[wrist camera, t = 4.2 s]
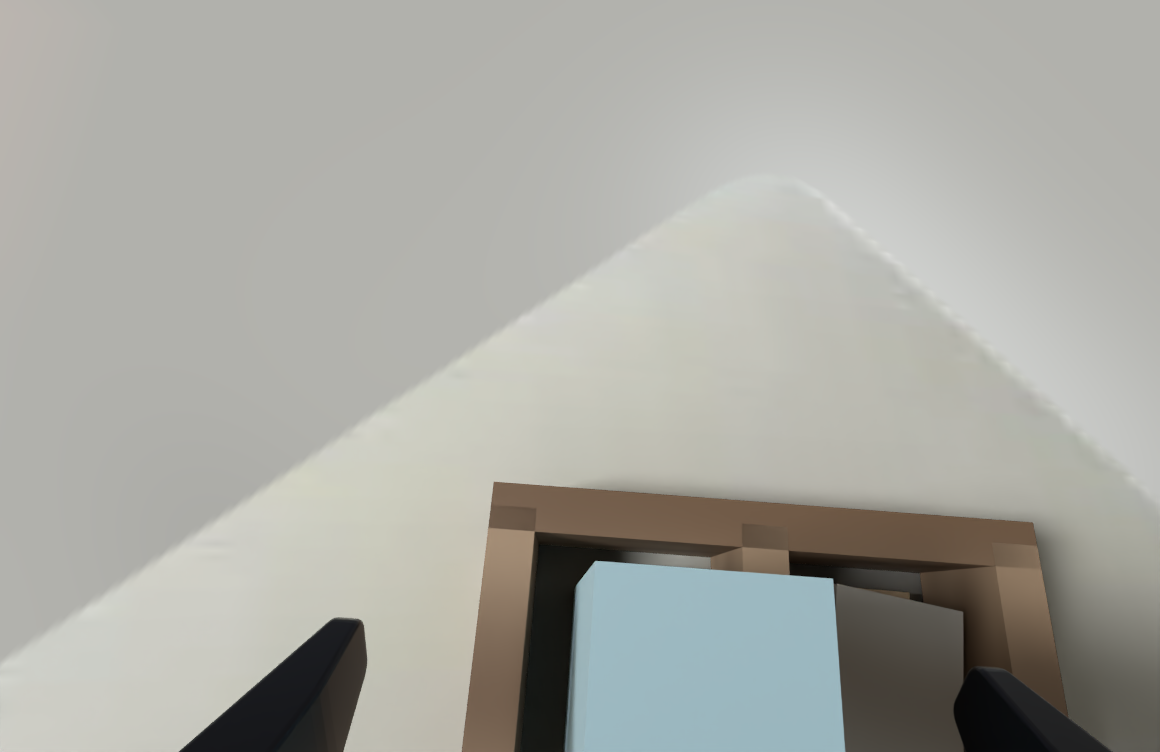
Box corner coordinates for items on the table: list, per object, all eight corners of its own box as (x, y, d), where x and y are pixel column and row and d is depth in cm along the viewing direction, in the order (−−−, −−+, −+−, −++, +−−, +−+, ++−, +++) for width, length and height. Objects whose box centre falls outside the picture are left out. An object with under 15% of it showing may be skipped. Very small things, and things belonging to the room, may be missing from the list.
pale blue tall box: (667, 826, 14) (881, 1263, 5) (558, 818, 14) (555, 1239, 5) (671, 595, 16) (832, 578, 6) (574, 587, 16) (595, 560, 6)
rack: (1006, 933, 14) (1123, 1019, 11) (461, 894, 14) (435, 969, 11) (952, 536, 17) (1032, 522, 14) (505, 503, 16) (494, 482, 14)
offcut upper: (920, 863, 13) (963, 895, 12) (791, 833, 13) (819, 860, 12) (925, 610, 15) (963, 611, 14) (811, 585, 15) (837, 583, 14)
